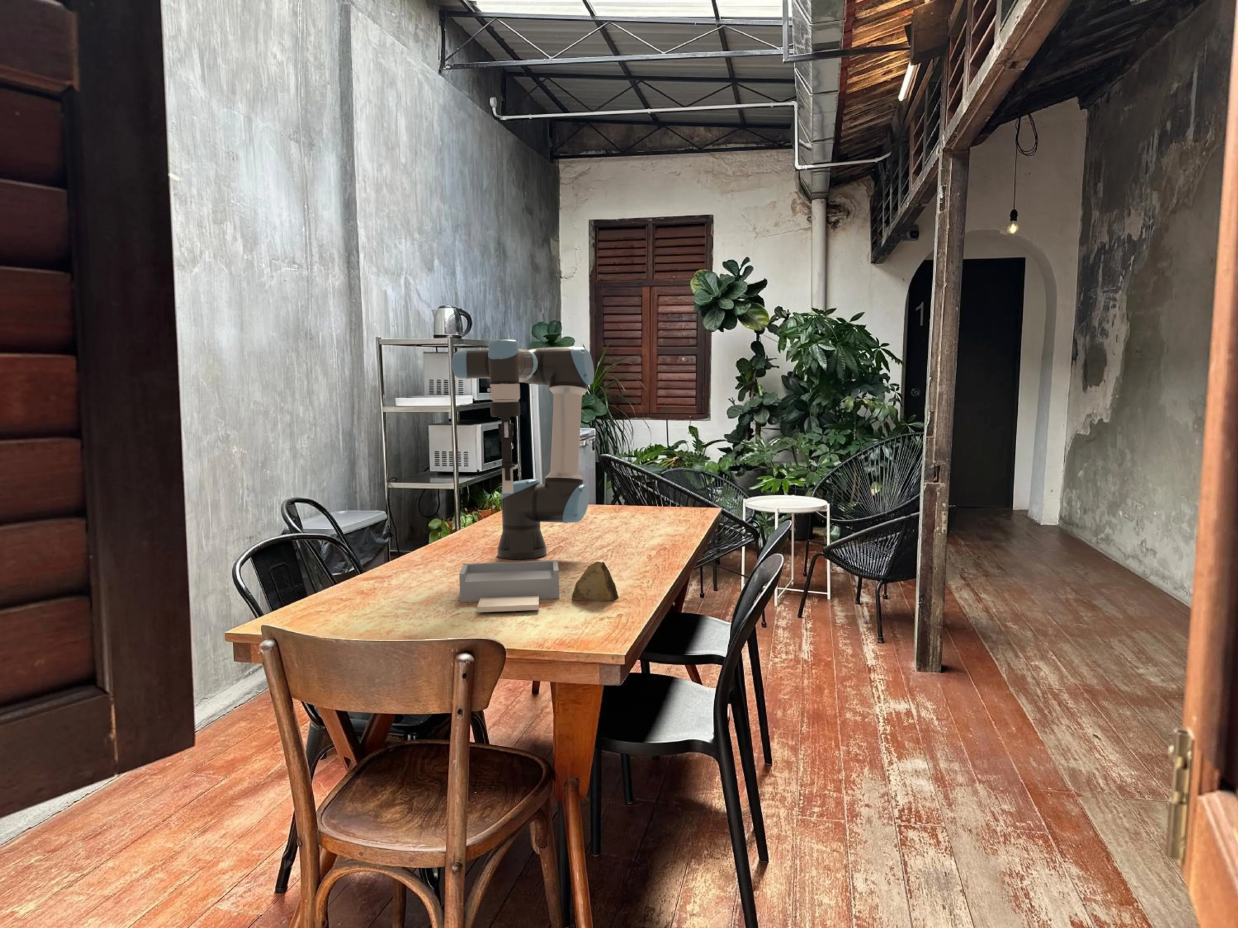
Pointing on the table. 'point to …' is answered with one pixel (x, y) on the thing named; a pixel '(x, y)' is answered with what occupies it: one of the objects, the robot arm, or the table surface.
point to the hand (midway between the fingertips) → (508, 492)
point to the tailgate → (508, 604)
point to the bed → (509, 580)
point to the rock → (595, 584)
